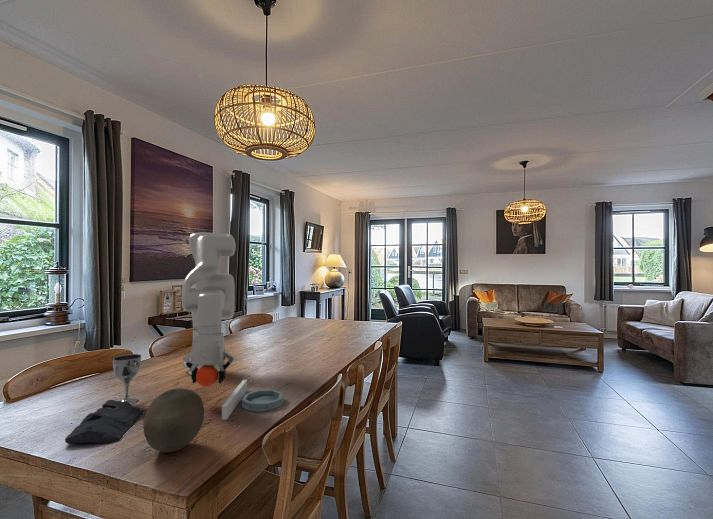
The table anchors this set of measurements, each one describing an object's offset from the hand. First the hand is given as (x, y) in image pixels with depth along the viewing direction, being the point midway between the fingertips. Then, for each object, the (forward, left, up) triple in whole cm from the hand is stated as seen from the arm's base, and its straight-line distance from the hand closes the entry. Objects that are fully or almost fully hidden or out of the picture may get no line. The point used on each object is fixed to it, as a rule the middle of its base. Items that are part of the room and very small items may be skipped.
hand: (208, 381), depth 117 cm
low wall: (+9, -1, -7) cm, 12 cm away
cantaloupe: (+2, -30, -7) cm, 31 cm away
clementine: (0, 0, -2) cm, 2 cm away
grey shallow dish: (+18, -1, -7) cm, 20 cm away
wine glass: (-28, +2, -7) cm, 29 cm away
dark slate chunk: (-23, -16, -8) cm, 29 cm away
